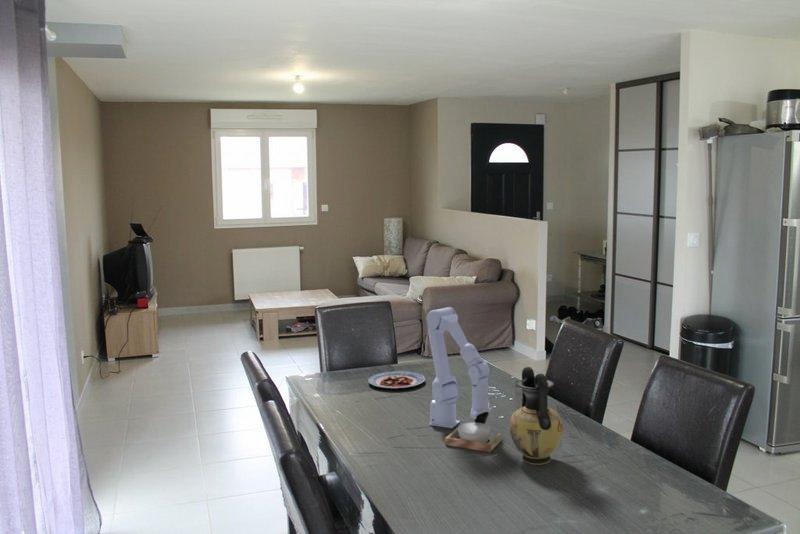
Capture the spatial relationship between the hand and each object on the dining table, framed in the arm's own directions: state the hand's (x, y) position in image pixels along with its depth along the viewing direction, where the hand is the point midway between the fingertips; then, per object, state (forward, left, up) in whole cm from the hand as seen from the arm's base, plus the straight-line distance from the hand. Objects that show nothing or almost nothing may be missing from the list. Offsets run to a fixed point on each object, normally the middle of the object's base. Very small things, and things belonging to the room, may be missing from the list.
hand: (480, 432), depth 248 cm
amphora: (+24, -13, -2) cm, 27 cm away
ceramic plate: (-58, +46, -2) cm, 74 cm away
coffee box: (+11, +16, -2) cm, 20 cm away
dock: (0, -7, -1) cm, 7 cm away
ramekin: (0, -7, -2) cm, 7 cm away
